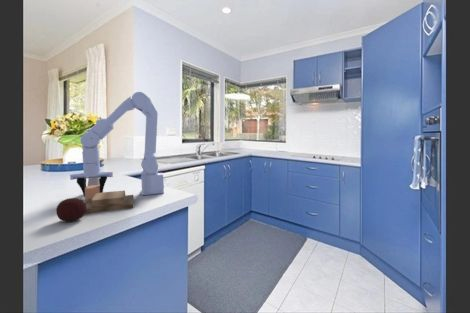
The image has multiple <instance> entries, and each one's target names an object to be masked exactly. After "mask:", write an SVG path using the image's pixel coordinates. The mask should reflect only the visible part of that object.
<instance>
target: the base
mask: <svg viewBox="0 0 470 313" xmlns="http://www.w3.org/2000/svg"><path fill="white" fill-rule="evenodd" d="M134 201H135V200H134V194H128V195H127V194H126V190H114V191H113V190H112V191H103V192H102V193H96V194H95V196H94V197H93V199H88V200H87V201H85V204H86V208H87V209H86V213H85V214H86V215H87V214H93V213H94V214H95V213H101V212H102V213H103V212H111V211H112V212H113V211H120V210H129V209H130V210H131V209H134ZM85 214H84V215H85Z"/></svg>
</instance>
